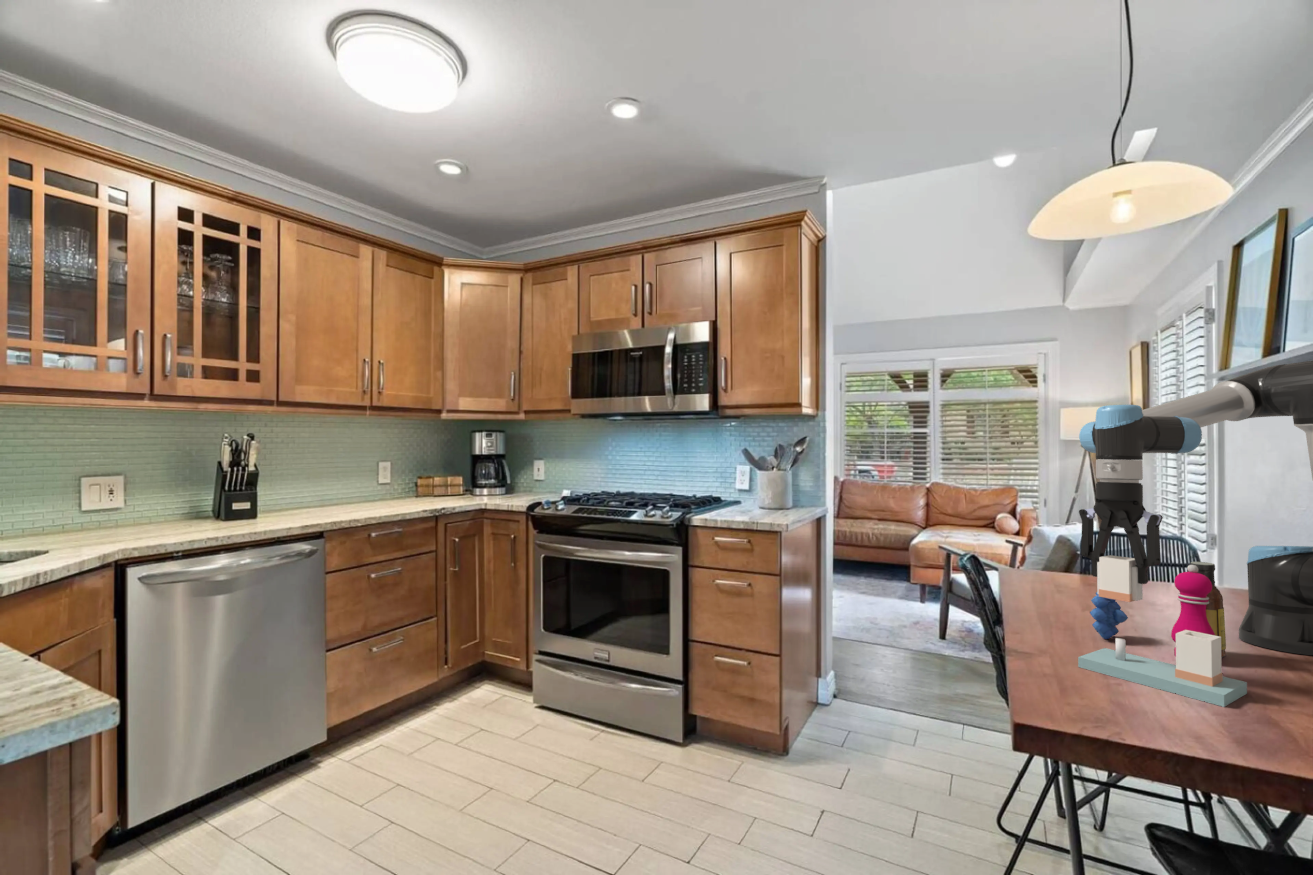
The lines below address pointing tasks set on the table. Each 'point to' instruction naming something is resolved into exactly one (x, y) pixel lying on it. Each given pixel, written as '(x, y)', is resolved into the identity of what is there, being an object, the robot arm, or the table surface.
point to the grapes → (1107, 616)
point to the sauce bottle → (1214, 604)
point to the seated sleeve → (1198, 657)
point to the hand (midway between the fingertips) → (1119, 596)
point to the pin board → (1158, 675)
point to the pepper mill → (1192, 602)
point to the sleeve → (1116, 577)
